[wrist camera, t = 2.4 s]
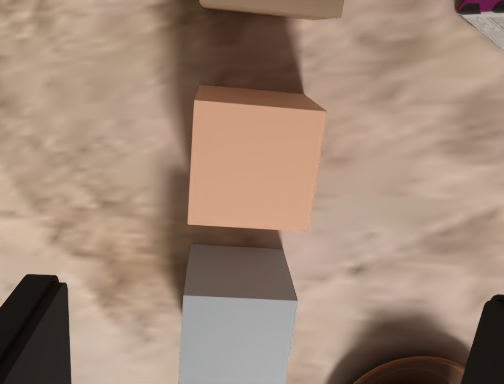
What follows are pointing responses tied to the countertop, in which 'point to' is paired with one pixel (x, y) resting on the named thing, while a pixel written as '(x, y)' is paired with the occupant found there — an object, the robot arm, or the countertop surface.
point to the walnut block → (281, 7)
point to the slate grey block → (236, 316)
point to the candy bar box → (485, 18)
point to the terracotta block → (254, 158)
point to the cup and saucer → (415, 372)
